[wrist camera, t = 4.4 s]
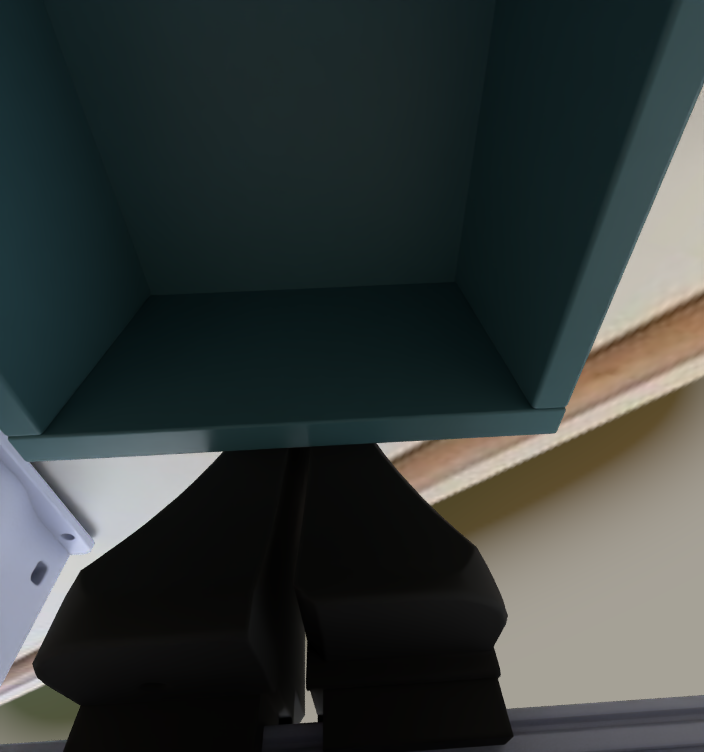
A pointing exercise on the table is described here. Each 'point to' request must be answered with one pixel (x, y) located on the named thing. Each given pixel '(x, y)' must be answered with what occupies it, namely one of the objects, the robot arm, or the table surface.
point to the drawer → (320, 213)
